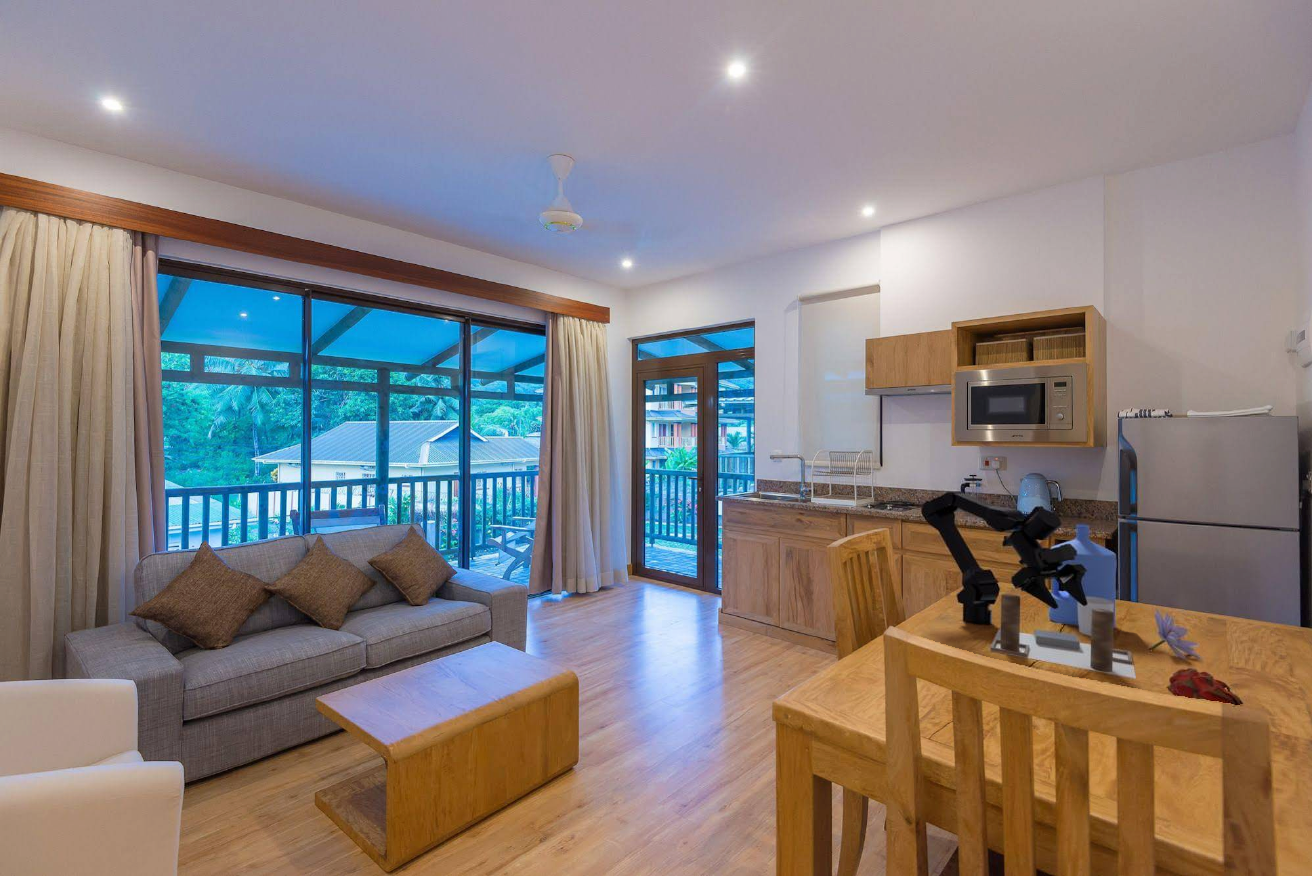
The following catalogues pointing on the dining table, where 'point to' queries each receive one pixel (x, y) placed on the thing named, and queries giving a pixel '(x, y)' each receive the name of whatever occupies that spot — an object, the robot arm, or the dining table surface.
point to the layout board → (1066, 655)
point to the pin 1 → (1010, 622)
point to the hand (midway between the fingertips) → (1071, 606)
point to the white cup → (1086, 612)
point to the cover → (1056, 639)
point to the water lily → (1173, 636)
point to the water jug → (1086, 577)
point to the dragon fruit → (1201, 687)
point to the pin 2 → (1102, 639)
